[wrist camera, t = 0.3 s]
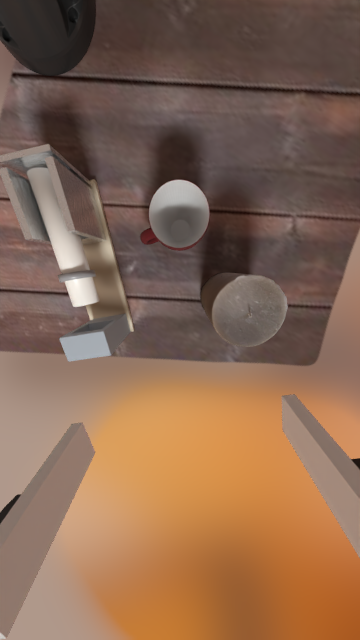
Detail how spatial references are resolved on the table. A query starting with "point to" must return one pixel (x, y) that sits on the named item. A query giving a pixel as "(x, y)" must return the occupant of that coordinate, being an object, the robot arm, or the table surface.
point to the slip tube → (63, 241)
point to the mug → (177, 215)
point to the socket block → (96, 338)
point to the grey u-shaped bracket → (69, 191)
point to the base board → (106, 273)
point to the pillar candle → (244, 307)
